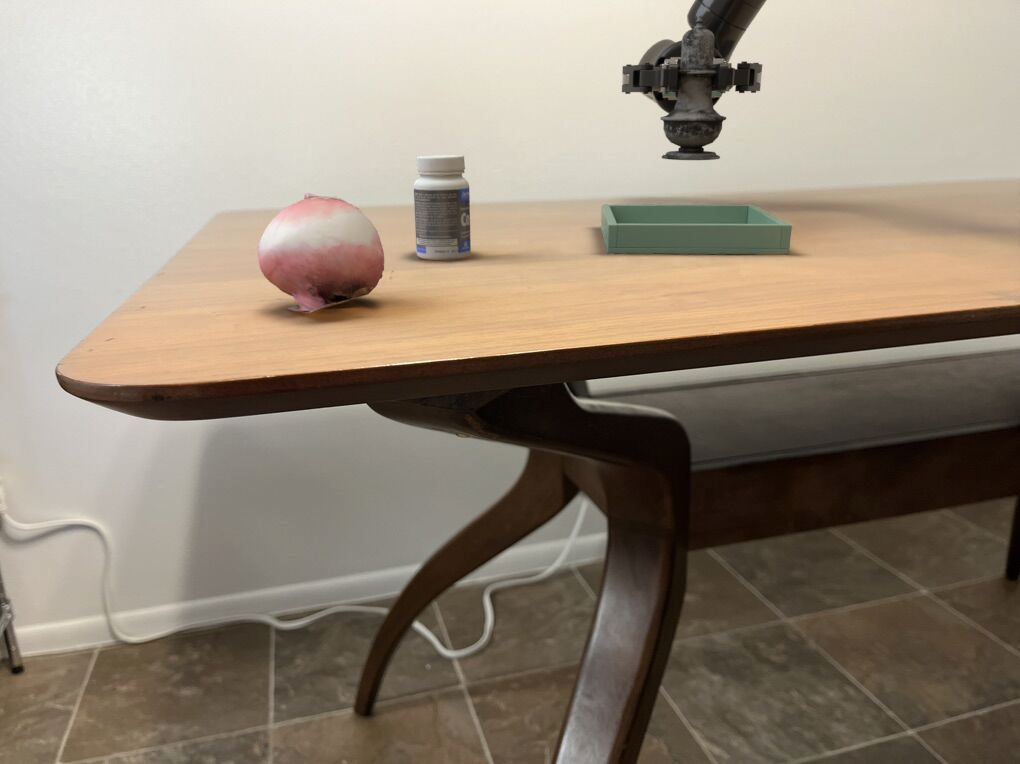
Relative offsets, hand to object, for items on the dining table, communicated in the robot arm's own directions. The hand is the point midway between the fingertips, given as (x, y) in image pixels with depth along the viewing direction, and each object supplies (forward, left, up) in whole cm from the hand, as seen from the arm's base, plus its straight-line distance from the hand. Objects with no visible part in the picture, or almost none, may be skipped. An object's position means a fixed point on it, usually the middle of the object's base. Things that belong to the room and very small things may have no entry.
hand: (698, 77), depth 70 cm
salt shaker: (0, -3, -7) cm, 8 cm away
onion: (+27, +25, -15) cm, 40 cm away
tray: (0, -3, -15) cm, 15 cm away
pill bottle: (+22, +6, -15) cm, 27 cm away
